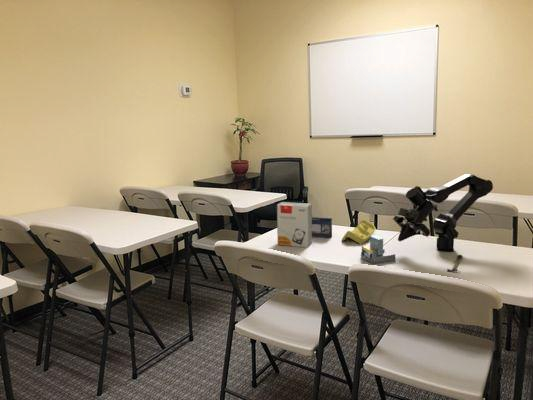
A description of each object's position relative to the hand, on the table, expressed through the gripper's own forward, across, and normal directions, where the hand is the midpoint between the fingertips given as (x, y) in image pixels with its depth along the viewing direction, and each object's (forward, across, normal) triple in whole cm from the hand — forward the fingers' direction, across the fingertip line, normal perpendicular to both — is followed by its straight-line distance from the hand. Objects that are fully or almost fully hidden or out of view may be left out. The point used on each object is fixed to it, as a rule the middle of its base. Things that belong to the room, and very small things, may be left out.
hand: (398, 240), depth 174 cm
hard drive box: (+29, -35, -19) cm, 49 cm away
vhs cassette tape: (+19, -44, -9) cm, 48 cm away
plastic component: (+5, -31, +5) cm, 32 cm away
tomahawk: (-6, +18, +17) cm, 25 cm away
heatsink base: (+12, 0, -2) cm, 12 cm away
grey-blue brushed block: (+12, 0, -5) cm, 13 cm away
